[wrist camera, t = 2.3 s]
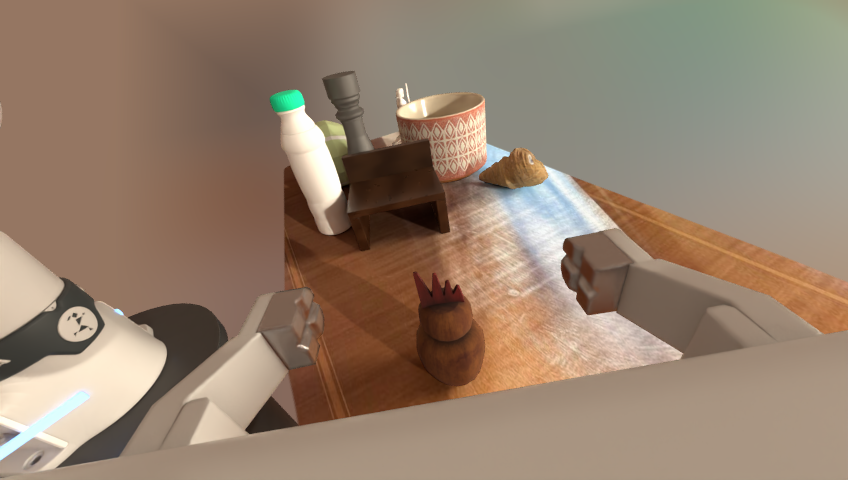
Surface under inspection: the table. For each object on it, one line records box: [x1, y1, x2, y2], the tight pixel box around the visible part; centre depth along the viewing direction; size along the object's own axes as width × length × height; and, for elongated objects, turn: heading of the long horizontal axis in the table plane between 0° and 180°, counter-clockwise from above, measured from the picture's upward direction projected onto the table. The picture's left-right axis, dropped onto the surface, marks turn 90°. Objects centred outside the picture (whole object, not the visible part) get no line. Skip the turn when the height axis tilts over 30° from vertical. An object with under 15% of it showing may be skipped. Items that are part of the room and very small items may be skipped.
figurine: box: [392, 85, 410, 146], centre depth 82 cm, size 10×10×18 cm
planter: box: [396, 92, 487, 183], centre depth 70 cm, size 19×19×15 cm
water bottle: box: [270, 90, 351, 235], centre depth 54 cm, size 7×7×25 cm
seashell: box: [479, 148, 548, 189], centre depth 62 cm, size 14×8×8 cm
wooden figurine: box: [413, 272, 485, 386], centre depth 29 cm, size 7×6×15 cm
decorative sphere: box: [314, 120, 350, 187], centre depth 73 cm, size 15×15×15 cm
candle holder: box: [322, 71, 374, 155], centre depth 60 cm, size 6×6×25 cm
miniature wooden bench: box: [342, 138, 450, 251], centre depth 55 cm, size 16×12×13 cm
